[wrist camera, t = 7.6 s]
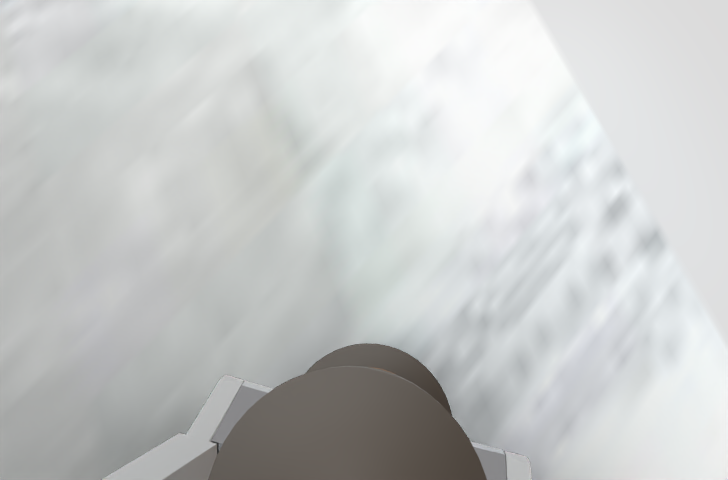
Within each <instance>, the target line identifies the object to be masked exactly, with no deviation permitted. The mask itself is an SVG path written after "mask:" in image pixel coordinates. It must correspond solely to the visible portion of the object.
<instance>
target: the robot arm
mask: <svg viewBox="0 0 728 480" xmlns="http://www.w3.org/2000/svg"><path fill="white" fill-rule="evenodd" d="M271 390H273V388H270V387H266V386H263V385H260V384H256V383H253V382H249V381H246V380H243V379H239V378H236V377H232V376H228V375H224V376H223V377H222V378H221V379H220V380H219V381H218V382H217V384H216V386H215V387H214V389H213V391H212V392H211V394H210V396H209V397H208V399H207V400H206V402H205V404H204V405H203V407H202V409H201V410H200V412H199V414H198V415H197V417H196V419H195V420H194V422H193V424H192V425H191V427H190V429H189V430H188V432H187V433H186V434H182V433H179V434H177V435H175V436H174V437H172V438H170V439H168V440H167V441H165V442H163V443H162V444H160V445H158V446H157V447H155V448H153V449H152V450H150V451H148V452H147V453H145V454H143V455H142V456H140V457H138V458H137V459H135V460H133V461H131V462H130V463H128V464H126V465H125V466H123V467H121V468H120V469H118V470H116V471H115V472H113V473H111V474H110V475H108V476H106V477H105V478H103V479H101V480H208V478H209V475H210V472H211V469H212V467H213V464H214V461H215V459H216V457H217V455H218V453H219V451H220V449H221V447H222V445H223V443H224V441H225V439H226V438H227V436H228V435H229V433H230V432H231V430H232V429H233V427H234V426H235V424H236V423H237V422H238V421H239V420H240V418H241V417H242V416H243V415H244V414H245V413H246V411H247V410H248V409H249V408H251V407H252V406H253V405H254V404H255V403H256V402H257V401H258V400H259V399H260V398H262V397H263V396H264V395H266V394H267V393H269V392H270V391H271ZM470 442H471V441H470ZM471 444H472V445H473V447H474V449H475V451H476V453H477V455H478V457H479V459H480V462H481V465H482V467H483V470H484V472H485V475H486V478H487V480H532V478H531V467H530V461H529V459H528V457H526V456H523V455H519V454H515V453H511V452H507V451H503V450H502V449H499V448H495V447H491V446H487V445H483V444H479V443H475V442H471Z"/></svg>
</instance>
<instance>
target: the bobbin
mask: <svg viewBox="0 0 728 480" xmlns="http://www.w3.org/2000/svg"><path fill="white" fill-rule="evenodd" d="M208 480H487V478H486V475H485V472H484V470H483V467H482V465H481V462H480V459H479V457H478V455H477V453H476V451H475V449H474V447H473V445H472V444H471V442H470V440H469V438H468V437H467V435H466V434H465V432H464V431H463V430H462V428H461V427H460V425H459V424H458V423H457V421H456V420H455V419H454V418H453V417H452V414H451V410H450V406H449V403H448V401H447V398H446V395H445V394H444V392H443V390H442V388H441V386H440V384H439V383H438V382H437V380H436V379H435V377H434V376H433V375H432V374H431V372H430V371H429V370H428V369H427V368H426V367H425V366H424V365H422V364H421V363H420V362H419V361H418V360H416V359H415V358H413V357H412V356H410V355H409V354H407V353H405V352H403V351H401V350H399V349H396V348H393V347H389V346H385V345H380V344H356V345H351V346H347V347H344V348H341V349H338V350H335V351H333V352H332V353H330V354H328V355H326V356H324V357H323V358H322V359H320V360H319V361H317V362H316V363H315V364H314V365H313V366H312V367H311V368H310V369H309V370H308V371H307V372H306V373H305V374H304V375H301V376H298V377H296V378H293V379H291V380H289V381H287V382H285V383H283V384H281V385H279V386H277V387H276V388H274V389H273V390H271V391H270V392H269V393H267V394H266V395H264V396H263V397H262V398H260V399H259V400H258V401H257V402H256V403H255V404H254V405H253V406H252V407H251V408H249V409H248V410H247V411H246V413H245V414H244V415H243V416H242V417H241V418H240V420H239V421H238V422H237V423H236V424H235V426H234V427H233V429H232V430H231V432H230V433H229V435H228V436H227V438H226V439H225V441H224V443H223V445H222V447H221V449H220V451H219V453H218V455H217V457H216V459H215V461H214V464H213V467H212V469H211V472H210V475H209V478H208Z"/></svg>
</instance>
